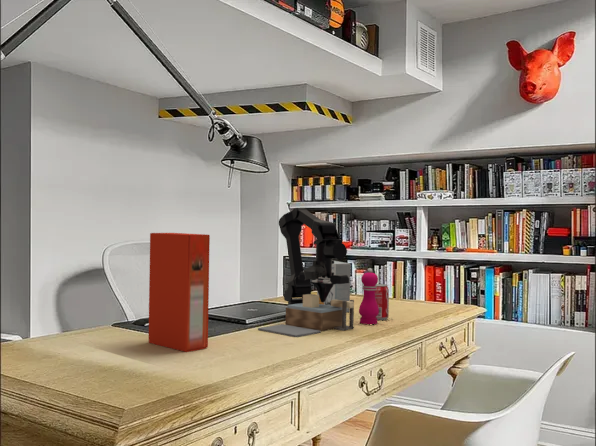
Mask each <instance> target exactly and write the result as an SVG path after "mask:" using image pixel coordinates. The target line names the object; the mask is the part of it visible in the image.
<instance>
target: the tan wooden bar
mask: <svg viewBox="0 0 596 446" xmlns="http://www.w3.org/2000/svg"><path fill="white" fill-rule="evenodd" d="M342 301H344V300H336V299H335V300H331V306H336V307H342ZM346 308H349V309H350V308H354V309H355V301H354V302H351V301H347V306H346Z"/></svg>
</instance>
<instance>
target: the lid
mask: <svg viewBox="0 0 596 446" xmlns="http://www.w3.org/2000/svg"><path fill="white" fill-rule="evenodd" d="M286 308H291V309H298V310H304V311H311V312H318V313H325V312H331V311H338V310H342V307H336V306H331V305H324V304H319V295H317V294H313V293H311V294H306V295H303V303H300V304H292V305H288V304H287V307H286Z"/></svg>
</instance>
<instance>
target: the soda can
mask: <svg viewBox="0 0 596 446" xmlns="http://www.w3.org/2000/svg"><path fill="white" fill-rule="evenodd" d="M388 285H389V284H385V283H384V284H383V283H377V284H376V290H375V299H376V302H377V305H378V308H379V314H378V315H377V316H376V318H377V321H387V320H388V318H389V316H390V315H389V312H390V311H389V309H390V308H389V305H390V303H389V301H390V300H389V299H390V293H389V291H390V288H389V287H388Z"/></svg>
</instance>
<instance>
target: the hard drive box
mask: <svg viewBox="0 0 596 446" xmlns="http://www.w3.org/2000/svg"><path fill="white" fill-rule="evenodd" d="M333 261H334V264H332V272H334V275H339V274H341V275H348V277H349V283H345V284H334V285H333V287H332V289H331V290H330V292H329V294H328V296H327V298H326V300H325V302H321V300H320V297H319V304H324V305H331V300H335V299H336V300H344V301H350V300H351V267H352V265H351V263H349V262H345V261H344V262H343V261H338V260H333ZM323 281H324V280H323ZM316 295H319V294H318V291H317V292H316ZM346 313H350V308H346Z"/></svg>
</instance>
